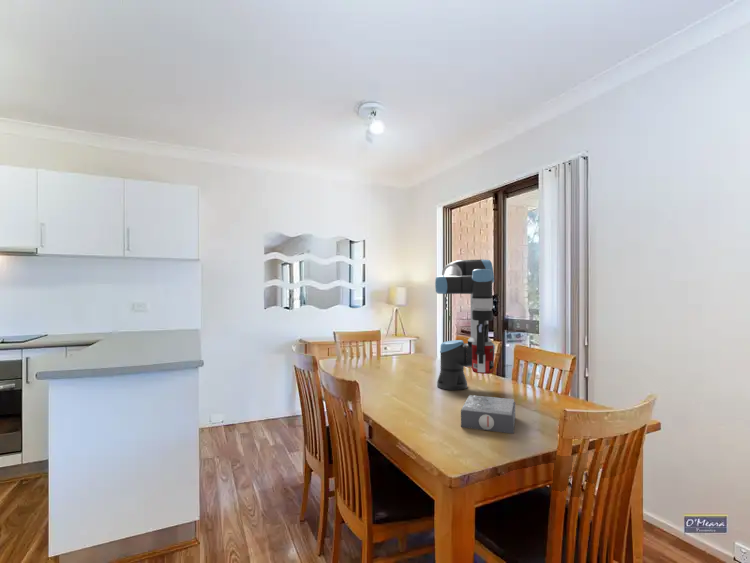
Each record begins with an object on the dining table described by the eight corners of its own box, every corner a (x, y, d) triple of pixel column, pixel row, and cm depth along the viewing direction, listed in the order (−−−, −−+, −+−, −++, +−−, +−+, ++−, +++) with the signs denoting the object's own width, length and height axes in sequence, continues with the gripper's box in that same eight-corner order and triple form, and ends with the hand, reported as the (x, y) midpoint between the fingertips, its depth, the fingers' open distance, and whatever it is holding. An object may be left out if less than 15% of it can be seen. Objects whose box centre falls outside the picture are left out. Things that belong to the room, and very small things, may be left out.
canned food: (494, 374, 144) (494, 344, 144) (472, 373, 146) (472, 343, 146) (493, 370, 152) (492, 341, 152) (471, 369, 153) (471, 341, 154)
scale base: (468, 412, 159) (468, 397, 160) (515, 417, 153) (515, 402, 153) (460, 427, 142) (460, 411, 142) (513, 434, 135) (513, 417, 135)
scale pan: (469, 397, 159) (469, 394, 159) (513, 402, 153) (513, 399, 153) (462, 410, 143) (462, 406, 143) (511, 415, 137) (511, 412, 137)
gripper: (476, 308, 160) (476, 364, 160) (467, 311, 141) (468, 374, 141) (495, 308, 157) (496, 365, 157) (489, 311, 138) (489, 376, 138)
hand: (482, 369), depth 149 cm, fingers closed on canned food, 8 cm apart
